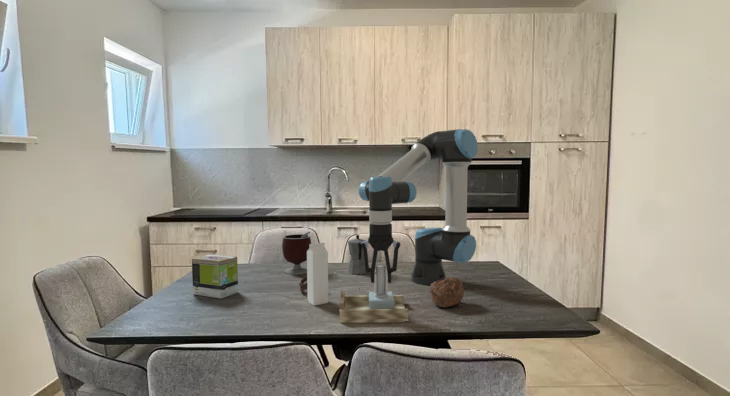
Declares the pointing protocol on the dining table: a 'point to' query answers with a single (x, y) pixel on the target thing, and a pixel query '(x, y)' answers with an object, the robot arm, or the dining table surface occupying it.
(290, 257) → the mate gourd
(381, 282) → the cylinder on square plate
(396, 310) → the tray
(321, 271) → the milk
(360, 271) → the coffeepot
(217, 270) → the tea box
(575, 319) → the dining table surface
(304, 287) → the pottery mug
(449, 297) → the decorative rock
